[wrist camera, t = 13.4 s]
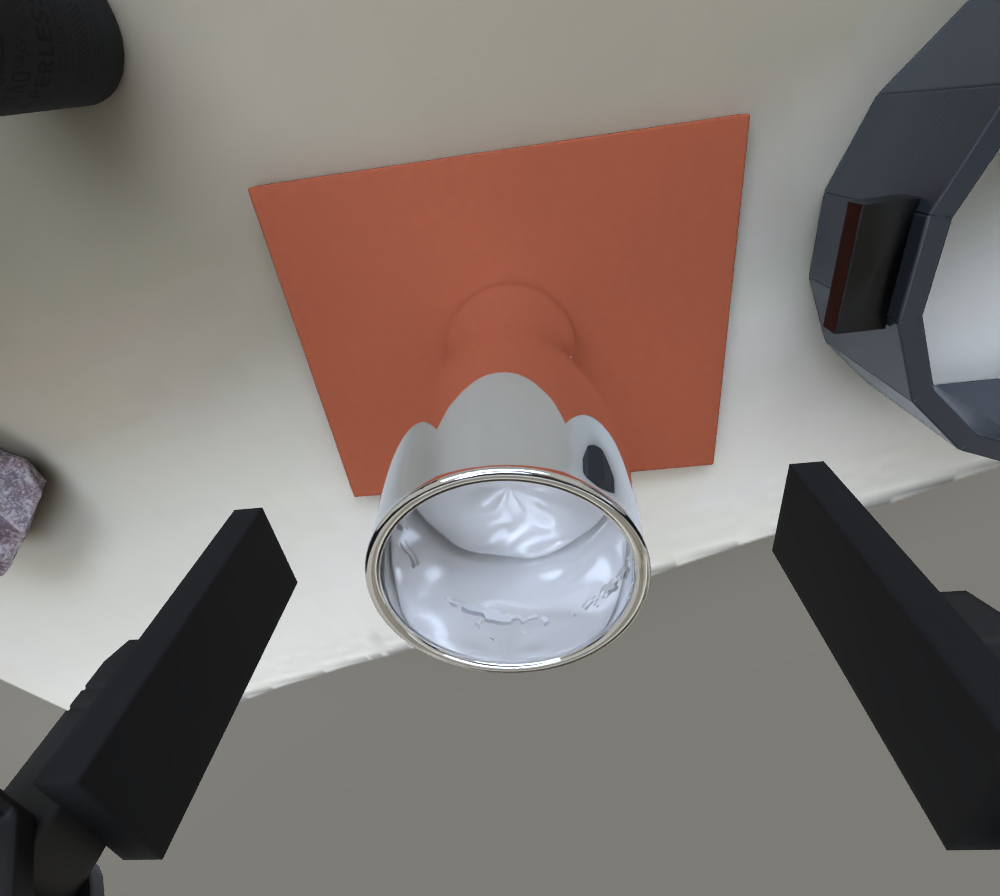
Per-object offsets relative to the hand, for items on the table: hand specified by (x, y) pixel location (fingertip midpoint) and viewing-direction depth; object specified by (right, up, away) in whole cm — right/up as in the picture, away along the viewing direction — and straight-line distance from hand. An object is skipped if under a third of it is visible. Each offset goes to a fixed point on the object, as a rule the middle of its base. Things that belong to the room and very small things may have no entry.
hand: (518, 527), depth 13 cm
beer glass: (0, +7, +11) cm, 13 cm away
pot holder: (0, +7, +12) cm, 14 cm away
